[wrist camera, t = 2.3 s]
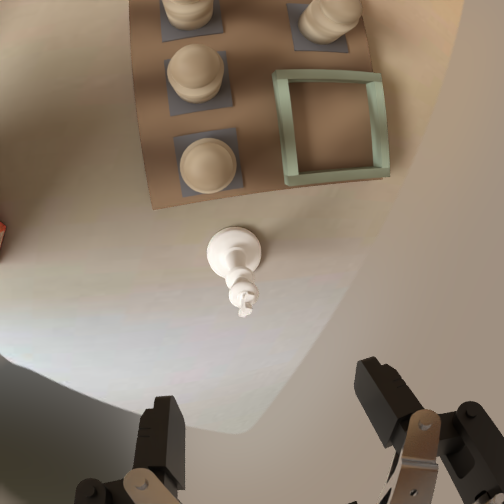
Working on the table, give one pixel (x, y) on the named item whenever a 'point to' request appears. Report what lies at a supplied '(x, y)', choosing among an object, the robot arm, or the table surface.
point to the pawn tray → (254, 97)
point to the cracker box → (2, 232)
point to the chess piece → (236, 264)
